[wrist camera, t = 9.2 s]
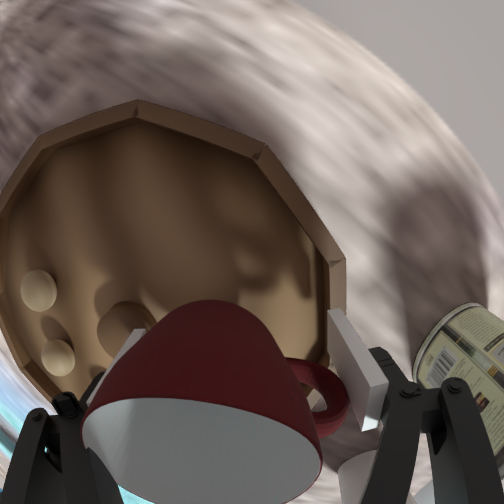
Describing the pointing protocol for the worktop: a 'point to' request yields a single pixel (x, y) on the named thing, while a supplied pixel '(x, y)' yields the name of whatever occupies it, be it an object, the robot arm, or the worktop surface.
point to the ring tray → (158, 239)
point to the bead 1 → (38, 290)
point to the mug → (212, 412)
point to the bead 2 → (58, 357)
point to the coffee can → (469, 364)
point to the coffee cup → (358, 477)
